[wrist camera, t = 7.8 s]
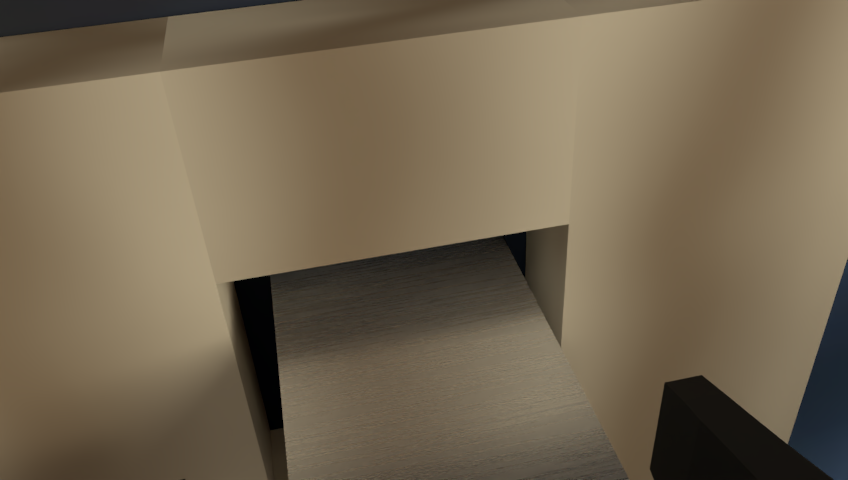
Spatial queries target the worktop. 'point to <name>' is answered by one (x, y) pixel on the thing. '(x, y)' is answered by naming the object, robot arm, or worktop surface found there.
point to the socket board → (410, 203)
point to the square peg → (429, 373)
